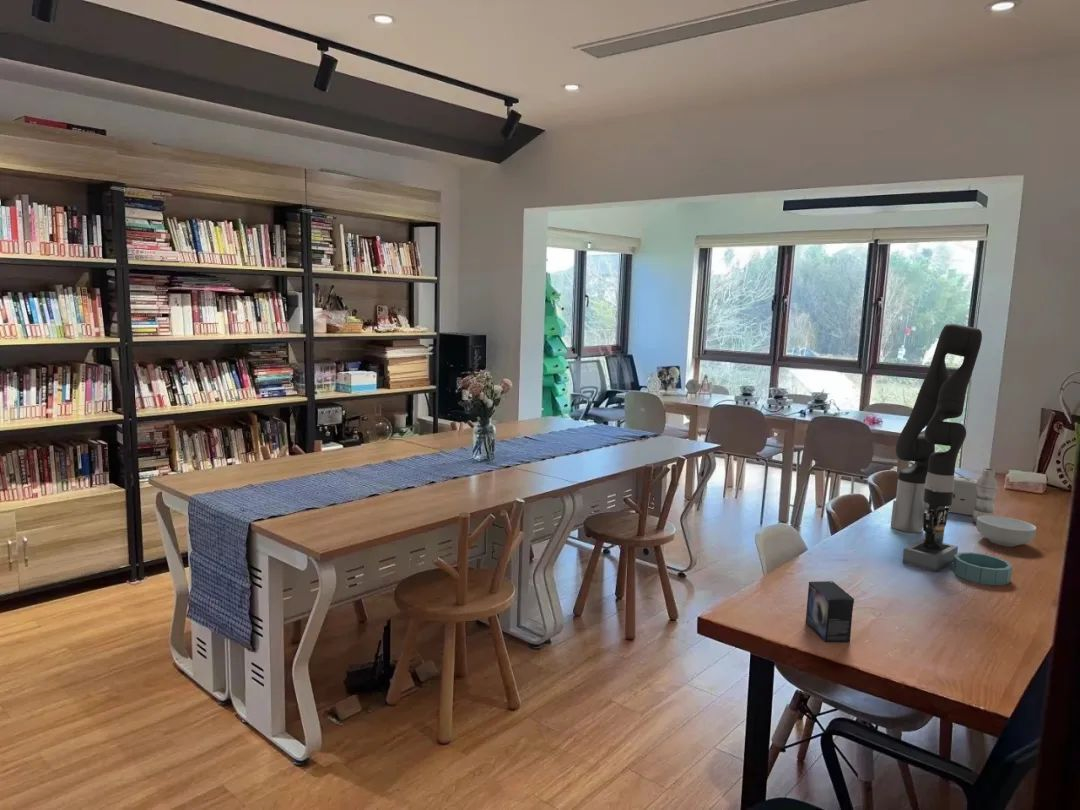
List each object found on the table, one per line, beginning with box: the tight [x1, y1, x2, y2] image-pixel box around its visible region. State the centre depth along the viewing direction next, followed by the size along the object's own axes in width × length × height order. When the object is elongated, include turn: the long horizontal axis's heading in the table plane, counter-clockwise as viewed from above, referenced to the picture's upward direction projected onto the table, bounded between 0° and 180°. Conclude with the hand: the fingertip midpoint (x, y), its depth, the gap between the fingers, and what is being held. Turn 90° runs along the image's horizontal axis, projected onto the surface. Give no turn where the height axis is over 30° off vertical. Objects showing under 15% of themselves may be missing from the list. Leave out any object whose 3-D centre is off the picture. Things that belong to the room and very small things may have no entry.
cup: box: [951, 551, 1013, 586], centre depth 212 cm, size 14×14×4 cm
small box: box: [805, 580, 855, 643], centre depth 171 cm, size 11×6×10 cm, turn 5°
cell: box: [923, 522, 946, 550], centre depth 221 cm, size 5×5×8 cm
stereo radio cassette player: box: [925, 471, 979, 517], centre depth 279 cm, size 21×8×20 cm, turn 58°
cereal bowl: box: [975, 515, 1037, 548], centre depth 244 cm, size 17×17×7 cm
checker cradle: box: [902, 538, 959, 573], centre depth 222 cm, size 10×16×4 cm, turn 132°
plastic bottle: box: [972, 467, 999, 523], centre depth 263 cm, size 6×7×20 cm
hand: (932, 542), depth 222 cm, fingers closed on cell, 5 cm apart
